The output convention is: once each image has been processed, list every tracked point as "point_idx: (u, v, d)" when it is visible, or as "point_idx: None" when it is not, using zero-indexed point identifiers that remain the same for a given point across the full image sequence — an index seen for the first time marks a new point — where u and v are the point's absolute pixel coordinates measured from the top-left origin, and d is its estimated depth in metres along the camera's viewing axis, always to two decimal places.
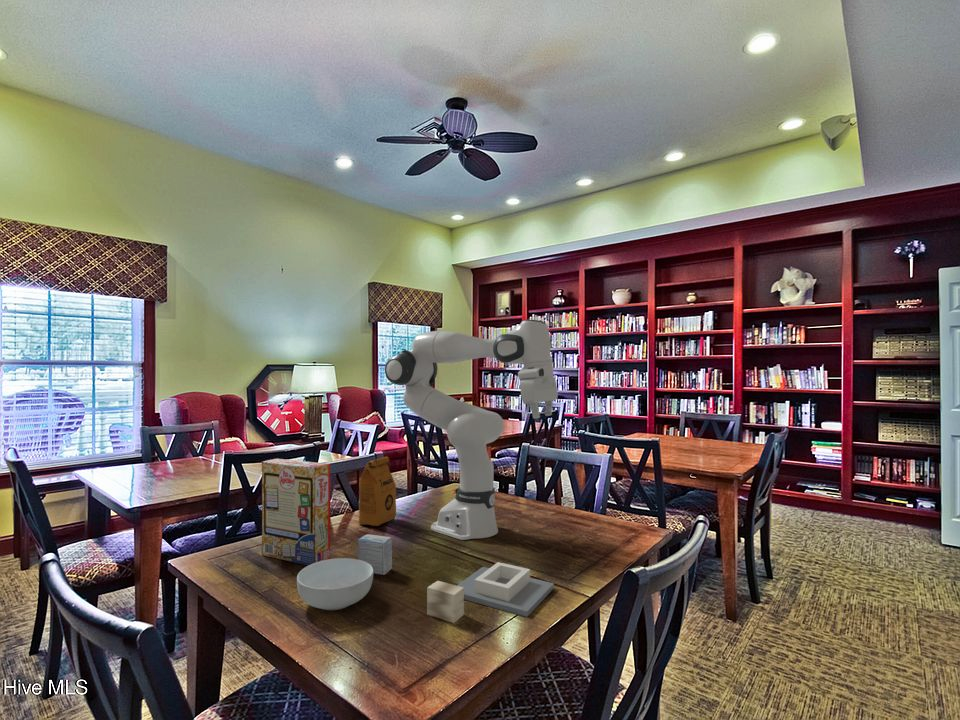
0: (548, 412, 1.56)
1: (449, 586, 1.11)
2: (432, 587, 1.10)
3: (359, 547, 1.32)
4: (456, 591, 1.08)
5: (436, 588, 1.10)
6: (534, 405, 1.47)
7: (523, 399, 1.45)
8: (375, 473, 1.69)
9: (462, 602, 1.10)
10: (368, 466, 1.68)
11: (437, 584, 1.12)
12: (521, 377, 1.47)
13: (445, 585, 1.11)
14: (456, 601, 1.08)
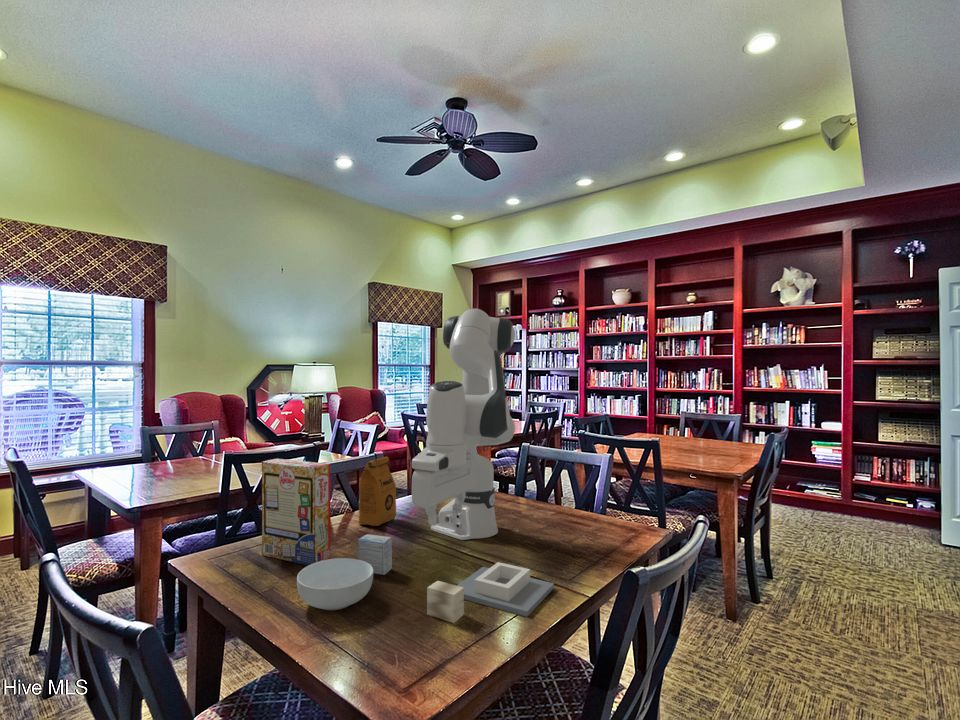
0: (457, 509, 1.14)
1: (449, 586, 1.11)
2: (432, 587, 1.10)
3: (359, 547, 1.32)
4: (456, 591, 1.08)
5: (436, 588, 1.10)
6: (430, 508, 1.04)
7: (413, 501, 1.02)
8: (375, 473, 1.69)
9: (462, 602, 1.10)
10: (368, 466, 1.68)
11: (437, 584, 1.12)
12: (415, 467, 1.04)
13: (445, 585, 1.11)
14: (456, 601, 1.08)
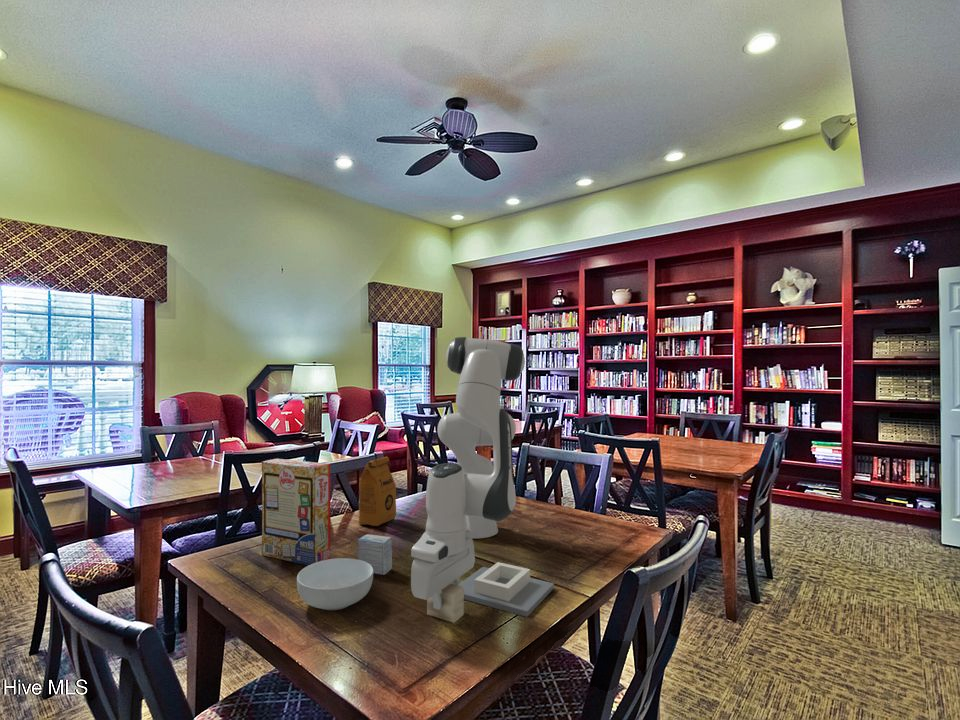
0: None
1: (449, 586, 1.11)
2: None
3: (359, 547, 1.32)
4: (456, 591, 1.08)
5: None
6: (435, 593, 1.06)
7: (412, 591, 1.02)
8: (375, 473, 1.69)
9: (462, 602, 1.10)
10: (368, 466, 1.68)
11: None
12: (415, 557, 1.04)
13: None
14: (456, 601, 1.08)
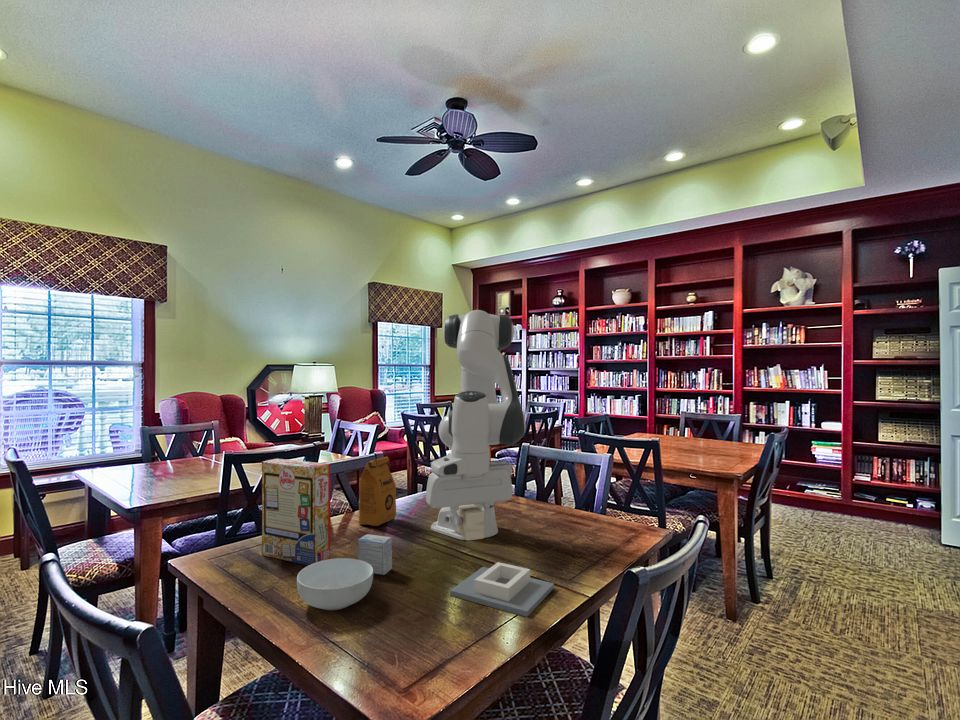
0: None
1: (473, 508, 1.15)
2: None
3: (359, 547, 1.32)
4: (473, 512, 1.12)
5: (462, 507, 1.16)
6: (452, 508, 1.13)
7: (426, 499, 1.13)
8: (375, 473, 1.69)
9: (481, 525, 1.12)
10: (368, 466, 1.68)
11: None
12: (432, 469, 1.14)
13: (473, 507, 1.16)
14: (472, 521, 1.12)
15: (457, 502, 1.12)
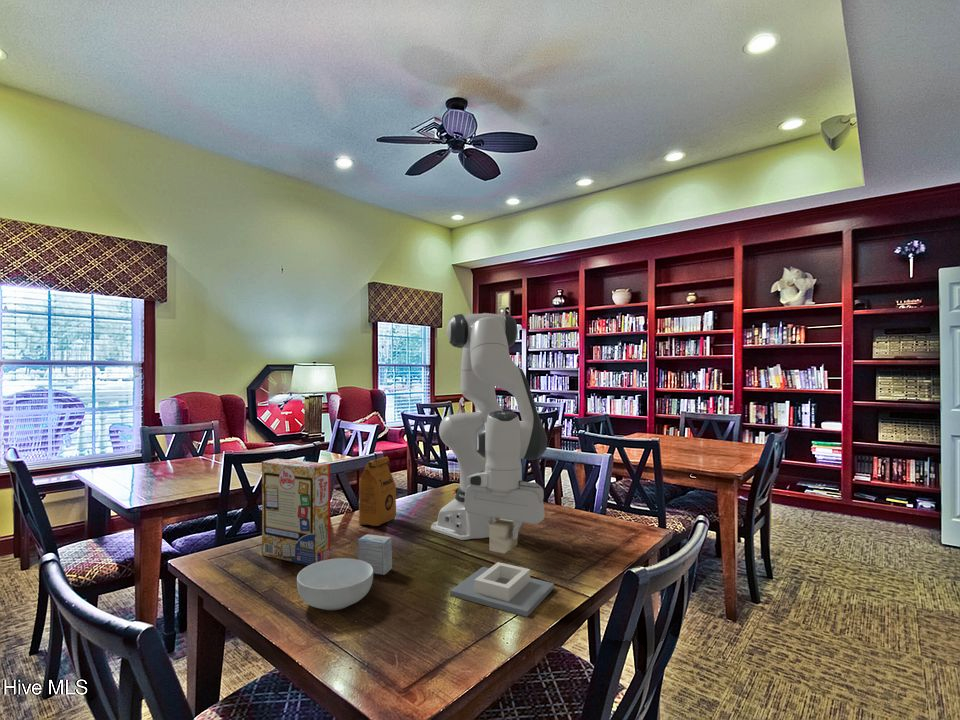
0: None
1: (505, 523, 1.20)
2: None
3: (359, 547, 1.32)
4: (496, 525, 1.18)
5: (501, 519, 1.23)
6: None
7: None
8: (375, 473, 1.69)
9: (502, 540, 1.17)
10: (368, 466, 1.68)
11: (510, 520, 1.23)
12: None
13: (508, 522, 1.21)
14: (493, 534, 1.18)
15: (486, 512, 1.21)
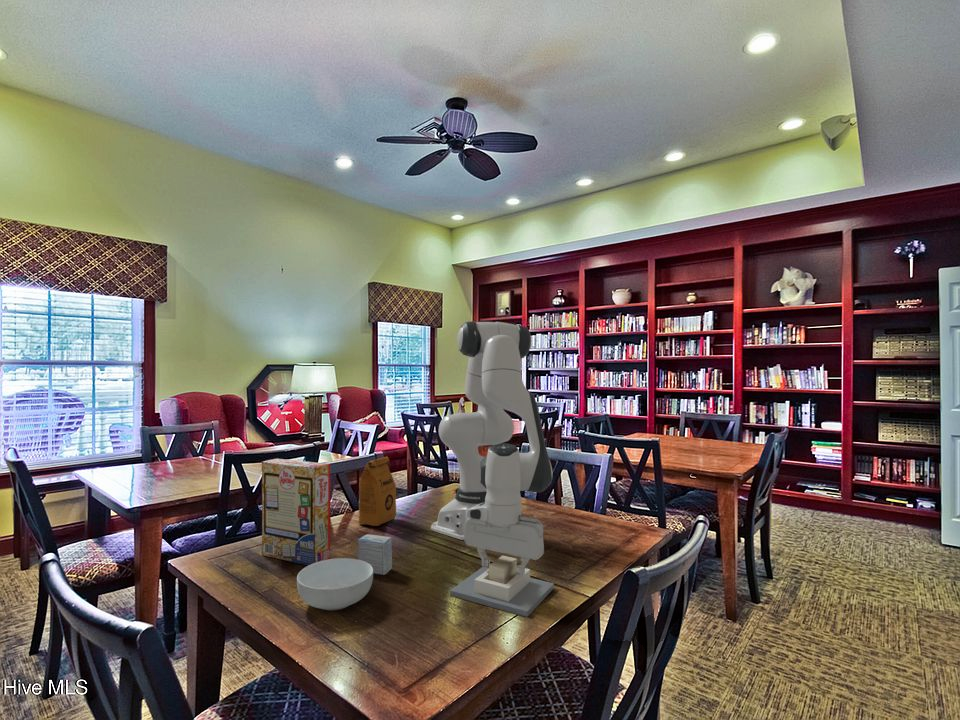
0: None
1: (504, 563, 1.20)
2: (502, 557, 1.24)
3: (359, 547, 1.32)
4: (495, 566, 1.19)
5: (500, 558, 1.23)
6: None
7: None
8: (375, 473, 1.69)
9: (501, 581, 1.17)
10: (368, 466, 1.68)
11: (509, 559, 1.23)
12: None
13: (507, 561, 1.21)
14: (493, 574, 1.19)
15: (486, 546, 1.22)
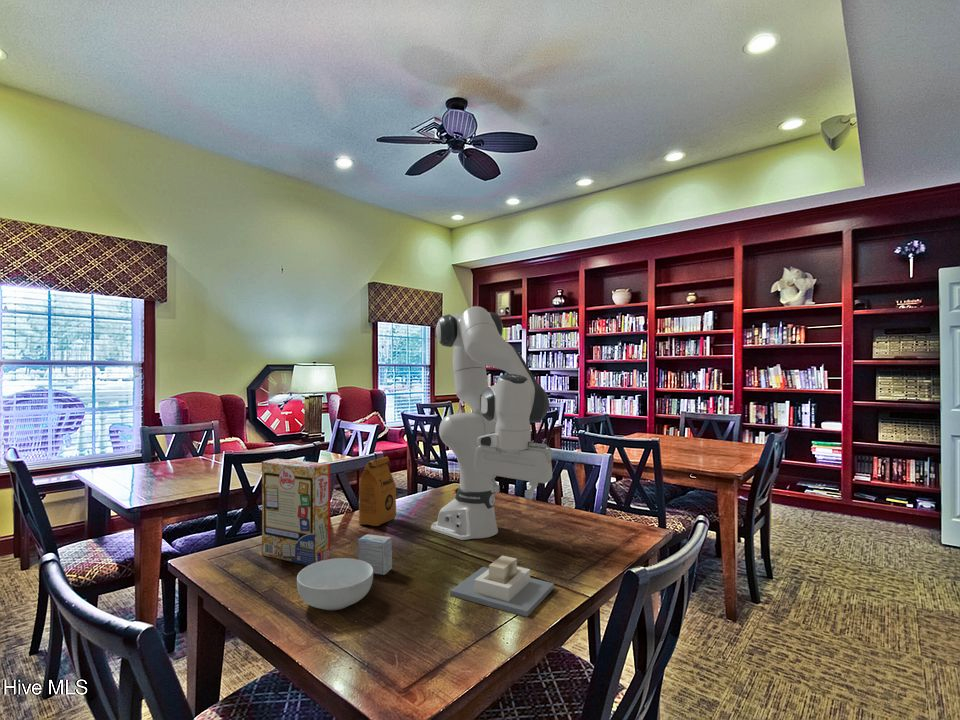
0: None
1: (504, 563, 1.20)
2: (502, 557, 1.24)
3: (359, 547, 1.32)
4: (495, 566, 1.19)
5: (500, 558, 1.23)
6: None
7: None
8: (375, 473, 1.69)
9: (501, 581, 1.17)
10: (368, 466, 1.68)
11: (509, 559, 1.23)
12: None
13: (507, 561, 1.21)
14: (493, 574, 1.19)
15: (495, 472, 1.25)
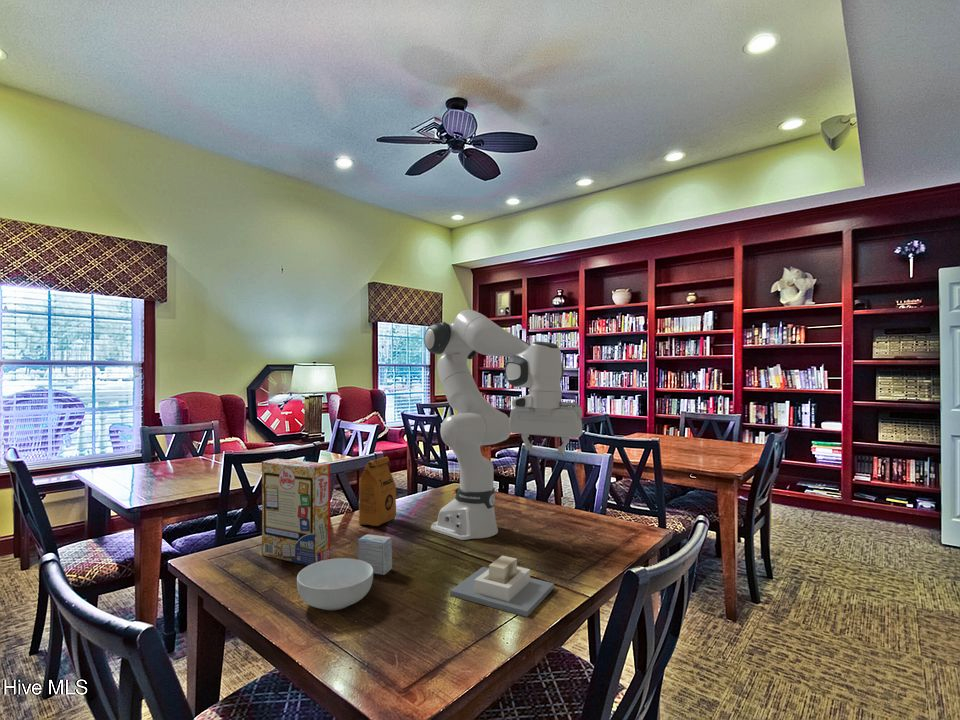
0: None
1: (504, 563, 1.20)
2: (502, 557, 1.24)
3: (359, 547, 1.32)
4: (495, 566, 1.19)
5: (500, 558, 1.23)
6: None
7: None
8: (375, 473, 1.69)
9: (501, 581, 1.17)
10: (368, 466, 1.68)
11: (509, 559, 1.23)
12: None
13: (507, 561, 1.21)
14: (493, 574, 1.19)
15: (529, 431, 1.37)
